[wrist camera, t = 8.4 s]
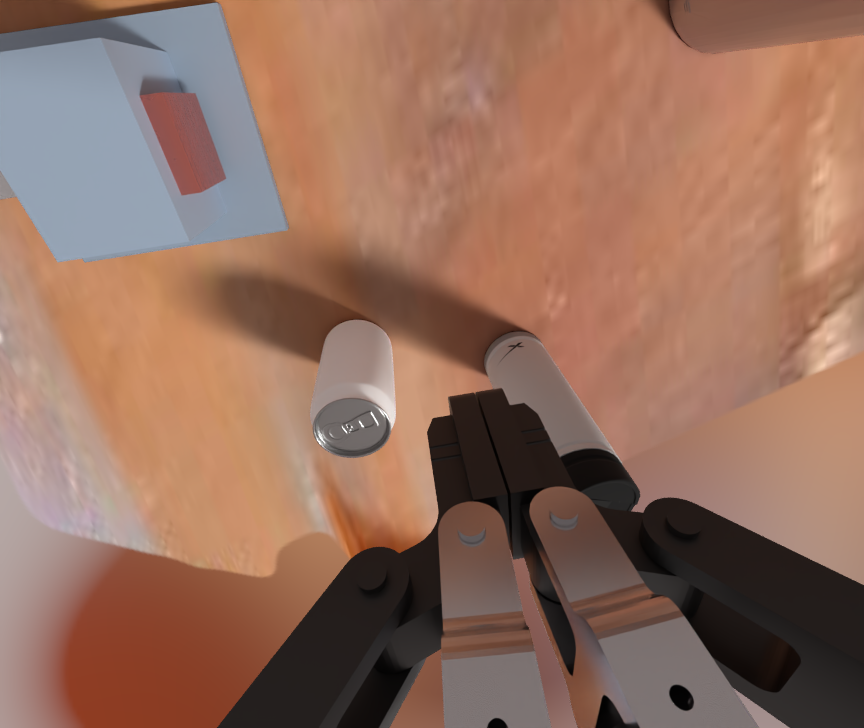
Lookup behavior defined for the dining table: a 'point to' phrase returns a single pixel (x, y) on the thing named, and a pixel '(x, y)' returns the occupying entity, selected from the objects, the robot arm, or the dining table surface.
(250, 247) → the dining table surface
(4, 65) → the block
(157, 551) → the dining table surface
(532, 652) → the robot arm
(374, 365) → the can
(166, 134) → the pin
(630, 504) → the travel mug
